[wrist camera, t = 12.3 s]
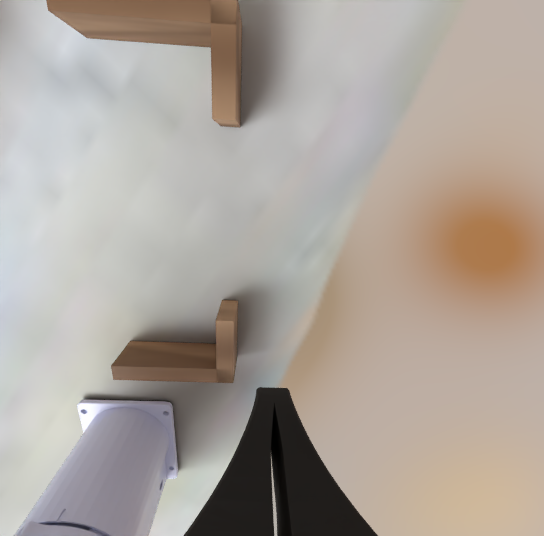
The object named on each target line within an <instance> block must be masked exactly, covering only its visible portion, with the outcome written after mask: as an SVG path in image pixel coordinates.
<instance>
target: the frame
mask: <svg viewBox="0 0 544 536" xmlns="http://www.w3.org/2000/svg"><path fill="white" fill-rule="evenodd" d="M46 1H47V6H48V11H50V12H51V13H53V14H54V15H55V16H57V17H58V18H60V19H61V20H62V21H64V22H65V23H67V24H68V25H69V26H71V27H72V28H74V29H75V30H77V31H78V32H79V33H81V34H82V35H84V36H85V37H86V38H92V39H106V40H119V41H133V42H146V43H159V44H173V45H186V46H199V47H211V68H212V119H213V120H214V121H216V122H217V123H218V124H219V125H220V126H226V127H240V119H241V50H242V21H241V15H240V9H239V3H238V0H46ZM237 329H238V301H234V300H222V302H221V305H220V309H219V312H218V315H217V318H216V344H208V343H178V342H147V341H130V342H129V343H128V345H127V346H126V347H125V349H124V350H123V351H122V352H121V354H120V355H119V356H118V358H117V359H116V360H115V362H114V363H113V364H112V366H111V369H112V374H113V380H143V381H180V382H217V383H233V381H234V374H235V368H236V361H237Z"/></svg>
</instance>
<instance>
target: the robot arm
mask: <svg viewBox="0 0 544 536" xmlns="http://www.w3.org/2000/svg"><path fill="white" fill-rule="evenodd" d="M77 407H78V412H79V416H80V420H81V424H82V428H83V432H84V433H83V434H82V436H81V437H80V439H79V440H78V442H77V443H76V445H75V446H74V448H73V449H72V451H71V452H70V454H69V455H68V457H67V458H66V459H65V461H64V462H63V464H62V465H61V467H60V468H59V470H58V471H57V473H56V474H55V476H54V477H53V479H52V480H51V482H50V483H49V485H48V486H47V488H46V489H45V490H44V492H43V493H42V495H41V496H40V498H39V499H38V501H37V502H36V504H35V505H34V507H33V508H32V510H31V511H30V513H29V514H28V516H27V517H26V519H25V520H24V521H23V523H22V524H21V526H20V527H19V529H18V530H17V532H16V533H15V535H14V536H149V532H150V529H151V526H152V523H153V520H154V516H155V513H156V510H157V507H158V504H159V501H160V497H161V494H162V491H163V488H164V485H165V482H166V479H174V478H176V477H177V475H178V463H177V451H176V440H175V429H174V418H173V406H172V404H171V403H170V402H163V401H122V400H81V401H80V402H79V403H78V405H77ZM166 411H167V412H166ZM271 457H272V467H273V478H274V489H275V500H276V512H277V535H278V536H378V535H377V534H376V533H375V532H374V531H373V530H372V528H371V527H370V526H369V525H368V523H367V522H366V521H365V520H364V519H363V517H362V516H361V515H360V514H359V513H358V511H357V510H356V509H355V507H354V506H353V505H352V503H351V502H350V501H349V500H348V498H347V497H346V496H345V494H344V493H343V492H342V490H341V489H340V487H339V486H338V485H337V483H336V482H335V480H334V479H333V477H332V476H331V474H330V473H329V471H328V470H327V468H326V466H325V465H324V463H323V462H322V460H321V458H320V457H319V455H318V454H317V451H316V450H315V448H314V446H313V444H312V443H311V441H310V439H309V437H308V435H307V433H306V431H305V429H304V427H303V425H302V423H301V420H300V418H299V416H298V414H297V411H296V409H295V406H294V404H293V401H292V398H291V396H290V392H289V390H288V389H287V388H262V387H259V388H258V389H257V391H256V398H255V402H254V406H253V409H252V412H251V415H250V418H249V421H248V424H247V426H246V429H245V431H244V434H243V436H242V438H241V440H240V443H239V445H238V447H237V449H236V452H235V454H234V456H233V458H232V460H231V462H230V463H229V465H228V467H227V469H226V471H225V473H224V475H223V476H222V478H221V480H220V481H219V483H218V485H217V487H216V488H215V490H214V492H213V493H212V495H211V496H210V498H209V500H208V501H207V503H206V504H205V506H204V507H203V509H202V510H201V512H200V513H199V515H198V516H197V518H196V519H195V521H194V522H193V523H192V525H191V526H190V528H189V529H188V530H187V532H186V533H185V534H184V536H274V524H273V504H272V480H271Z"/></svg>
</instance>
